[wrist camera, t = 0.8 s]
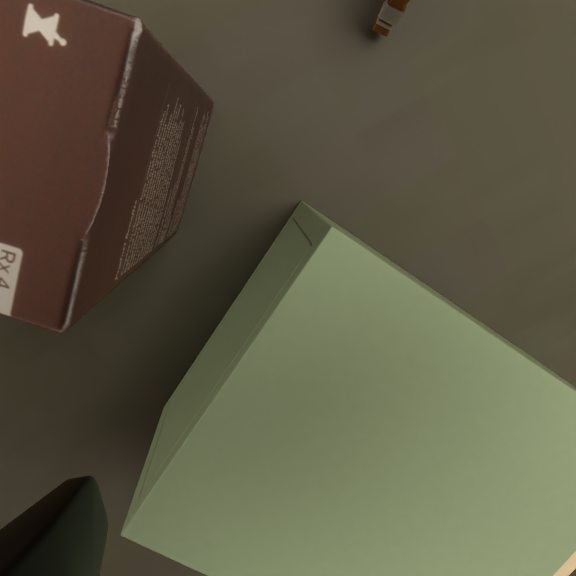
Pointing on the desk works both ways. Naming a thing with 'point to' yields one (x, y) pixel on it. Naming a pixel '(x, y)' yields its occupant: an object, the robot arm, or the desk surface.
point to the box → (87, 154)
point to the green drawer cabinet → (358, 431)
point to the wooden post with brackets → (389, 15)
